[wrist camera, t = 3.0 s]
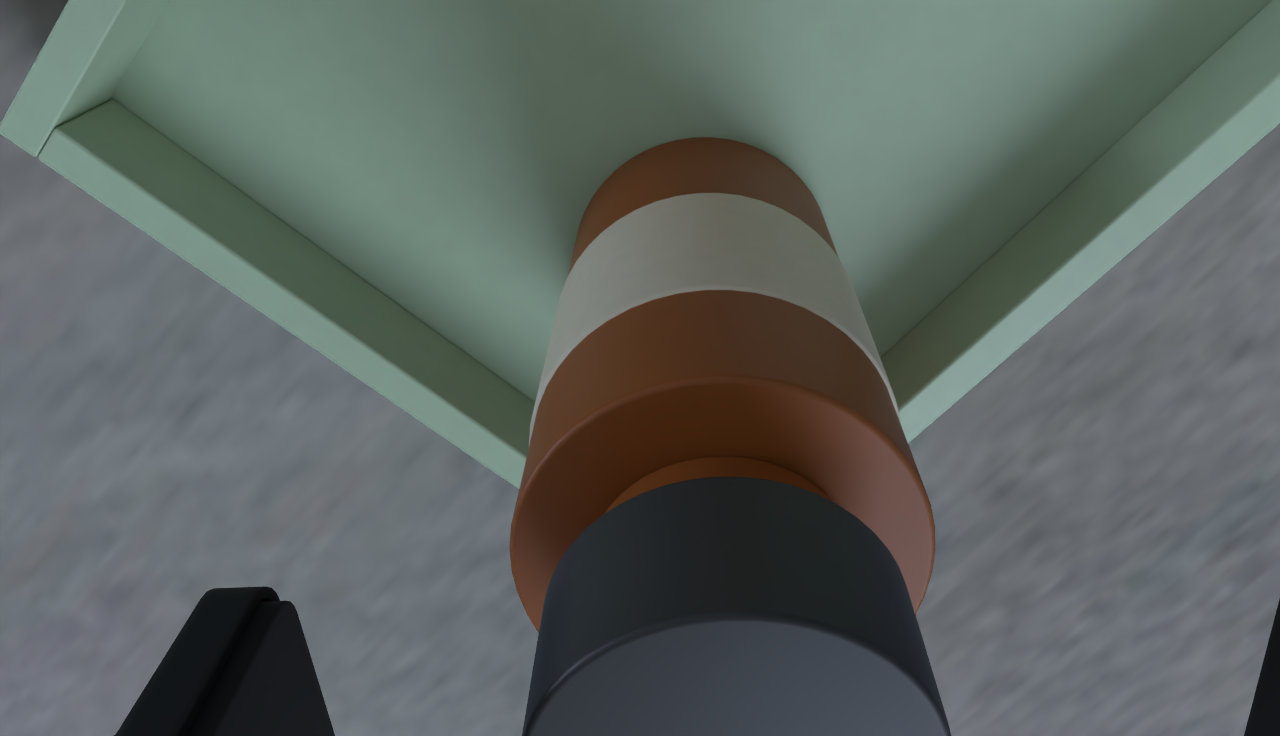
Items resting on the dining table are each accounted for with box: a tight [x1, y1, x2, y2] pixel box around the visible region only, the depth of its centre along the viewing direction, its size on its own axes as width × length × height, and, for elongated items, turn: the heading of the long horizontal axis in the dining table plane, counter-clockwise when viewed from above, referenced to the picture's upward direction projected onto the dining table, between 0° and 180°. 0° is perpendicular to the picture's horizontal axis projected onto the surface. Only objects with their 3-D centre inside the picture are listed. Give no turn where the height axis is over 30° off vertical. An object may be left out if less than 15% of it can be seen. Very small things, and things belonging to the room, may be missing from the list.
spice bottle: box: [510, 137, 951, 736], centre depth 14 cm, size 5×5×12 cm
